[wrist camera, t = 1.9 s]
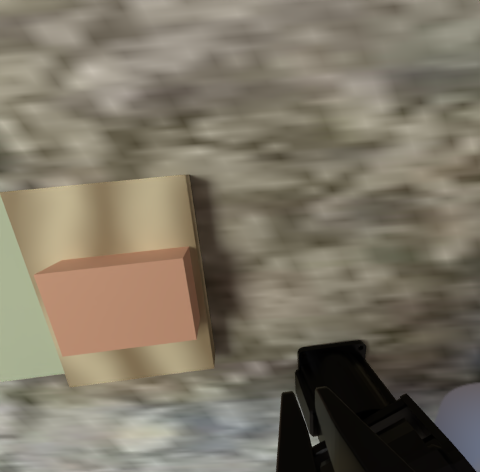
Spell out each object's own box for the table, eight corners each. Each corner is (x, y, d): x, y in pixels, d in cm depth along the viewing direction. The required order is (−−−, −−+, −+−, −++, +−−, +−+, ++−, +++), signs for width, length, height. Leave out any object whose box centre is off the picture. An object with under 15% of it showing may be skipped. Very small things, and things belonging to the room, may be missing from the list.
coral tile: (188, 246, 17) (182, 258, 14) (200, 317, 18) (196, 339, 16) (61, 260, 16) (33, 274, 14) (84, 332, 18) (62, 356, 15)
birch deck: (189, 174, 17) (185, 174, 15) (215, 350, 21) (214, 368, 19) (25, 190, 17) (-1, 192, 15) (84, 367, 21) (69, 387, 19)
